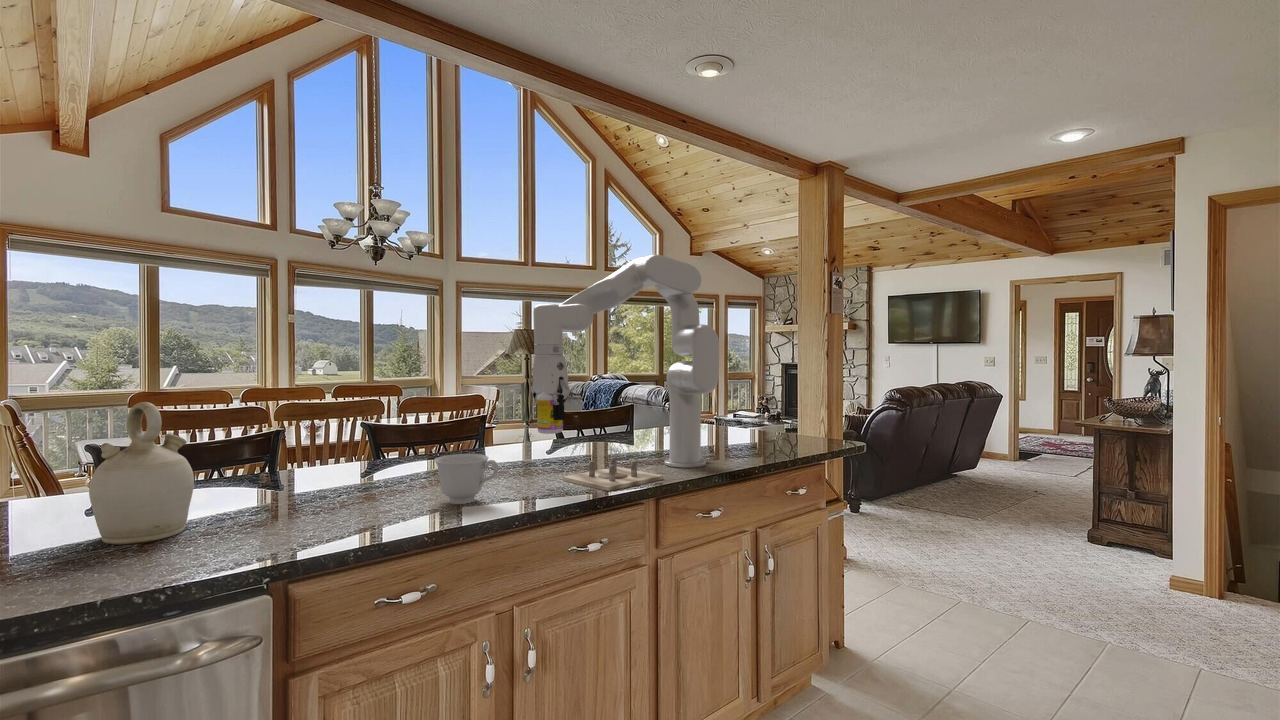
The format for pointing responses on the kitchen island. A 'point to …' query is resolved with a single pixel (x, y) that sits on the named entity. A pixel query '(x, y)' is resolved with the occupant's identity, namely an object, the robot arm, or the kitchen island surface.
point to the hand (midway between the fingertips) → (550, 418)
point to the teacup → (463, 475)
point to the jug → (142, 484)
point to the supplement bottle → (547, 415)
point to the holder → (612, 477)
